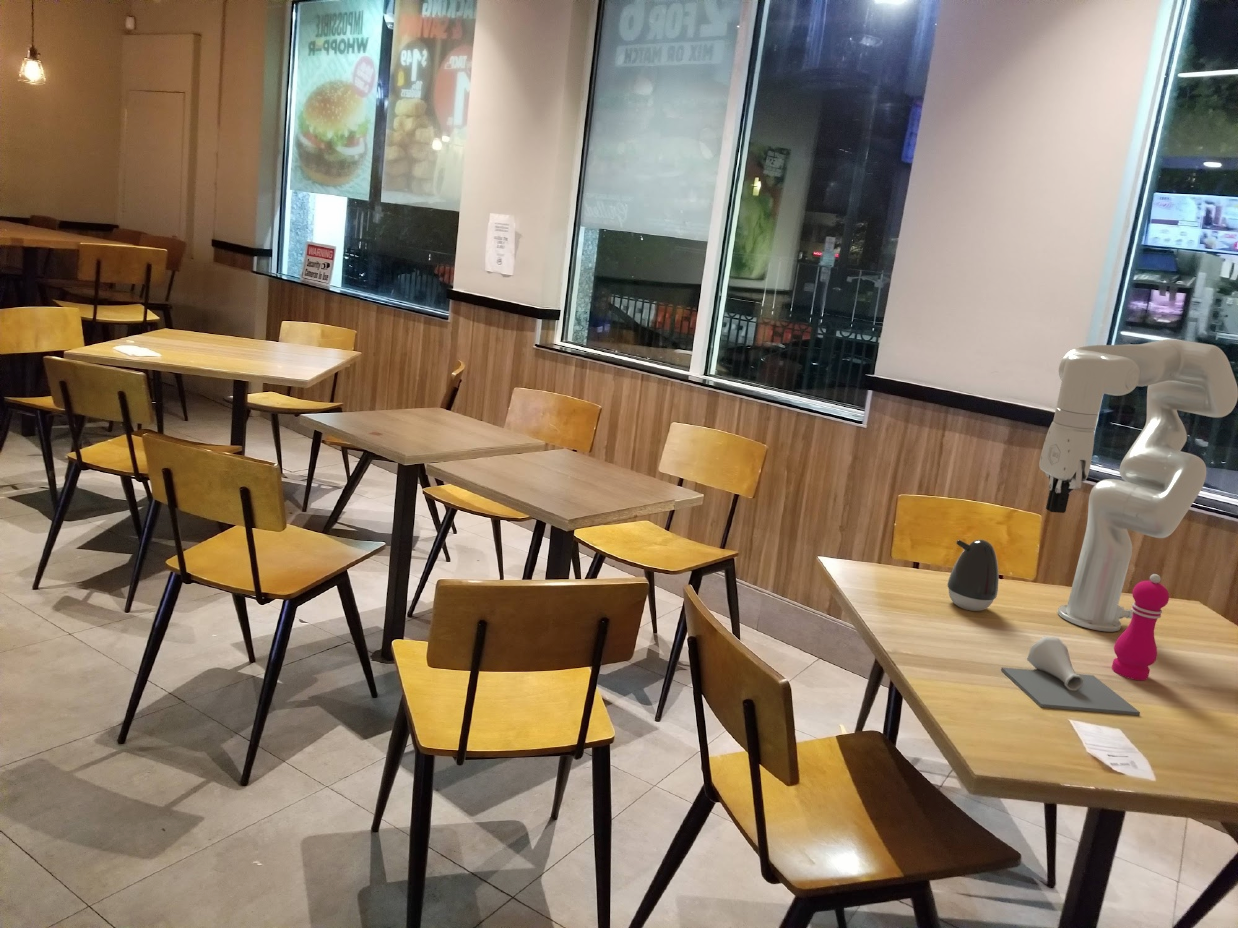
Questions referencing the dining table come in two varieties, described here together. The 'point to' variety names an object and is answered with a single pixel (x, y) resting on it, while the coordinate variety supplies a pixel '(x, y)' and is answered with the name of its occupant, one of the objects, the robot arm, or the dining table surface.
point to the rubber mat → (1069, 692)
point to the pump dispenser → (974, 576)
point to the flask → (1055, 661)
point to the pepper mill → (1141, 631)
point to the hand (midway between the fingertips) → (1055, 511)
